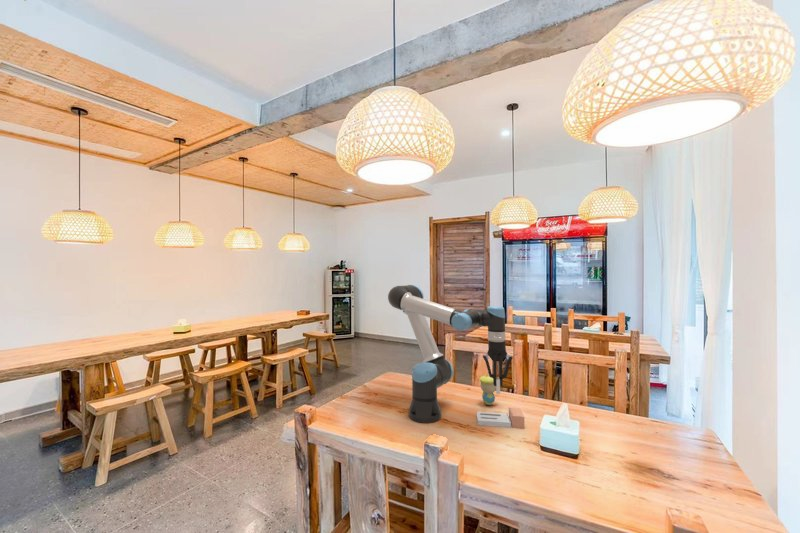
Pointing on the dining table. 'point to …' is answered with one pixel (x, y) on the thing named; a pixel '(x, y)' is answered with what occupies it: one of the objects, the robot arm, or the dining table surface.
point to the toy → (487, 389)
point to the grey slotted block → (493, 419)
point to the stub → (516, 417)
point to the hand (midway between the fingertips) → (498, 393)
